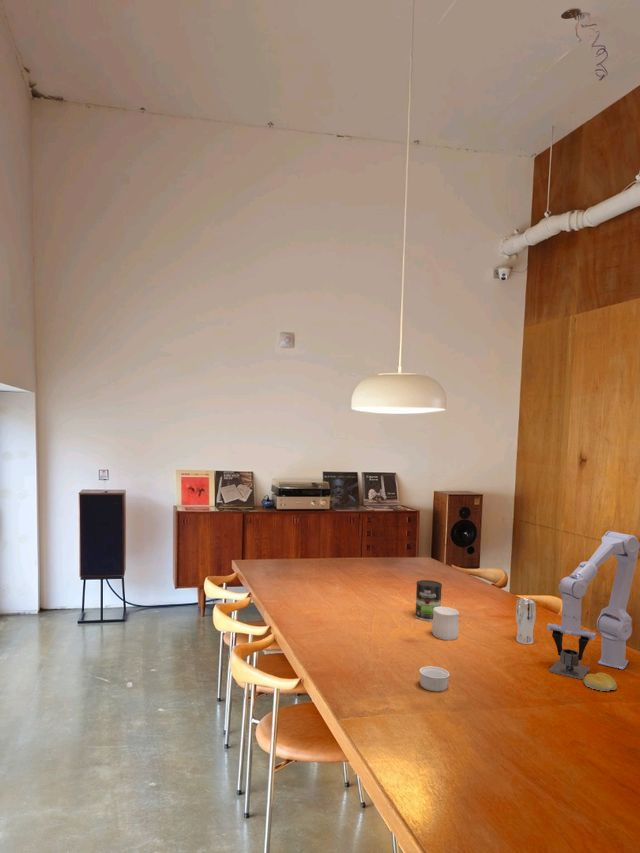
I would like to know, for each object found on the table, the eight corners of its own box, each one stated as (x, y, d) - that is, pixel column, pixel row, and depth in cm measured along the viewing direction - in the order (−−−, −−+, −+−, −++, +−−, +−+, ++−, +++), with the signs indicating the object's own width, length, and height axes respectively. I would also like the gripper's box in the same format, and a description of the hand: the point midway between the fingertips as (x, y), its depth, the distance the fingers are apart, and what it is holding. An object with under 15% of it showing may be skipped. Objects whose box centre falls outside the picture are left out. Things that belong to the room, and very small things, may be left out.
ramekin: (428, 677, 185) (428, 663, 185) (454, 686, 179) (454, 671, 179) (413, 686, 178) (413, 671, 178) (439, 695, 173) (440, 680, 173)
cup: (451, 642, 217) (452, 615, 217) (426, 636, 223) (427, 610, 223) (462, 636, 225) (463, 610, 225) (438, 630, 231) (439, 604, 231)
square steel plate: (557, 661, 202) (558, 647, 202) (589, 669, 196) (590, 654, 196) (549, 671, 193) (549, 656, 193) (582, 680, 187) (582, 664, 187)
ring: (562, 657, 199) (563, 647, 199) (580, 662, 195) (581, 652, 195) (558, 662, 194) (559, 652, 194) (576, 667, 191) (577, 656, 191)
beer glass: (519, 636, 226) (520, 597, 226) (537, 641, 222) (538, 600, 222) (511, 641, 221) (513, 600, 221) (530, 646, 217) (532, 604, 217)
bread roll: (578, 682, 186) (578, 669, 186) (602, 680, 188) (603, 668, 188) (596, 694, 178) (597, 680, 178) (622, 692, 180) (622, 678, 180)
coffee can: (439, 622, 240) (440, 587, 240) (413, 619, 243) (414, 584, 243) (441, 615, 250) (443, 581, 250) (417, 612, 253) (418, 579, 253)
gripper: (545, 613, 196) (543, 654, 196) (592, 622, 187) (591, 666, 187) (550, 608, 202) (549, 649, 201) (597, 617, 193) (596, 660, 193)
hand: (570, 657), depth 195 cm, fingers closed on ring, 6 cm apart
